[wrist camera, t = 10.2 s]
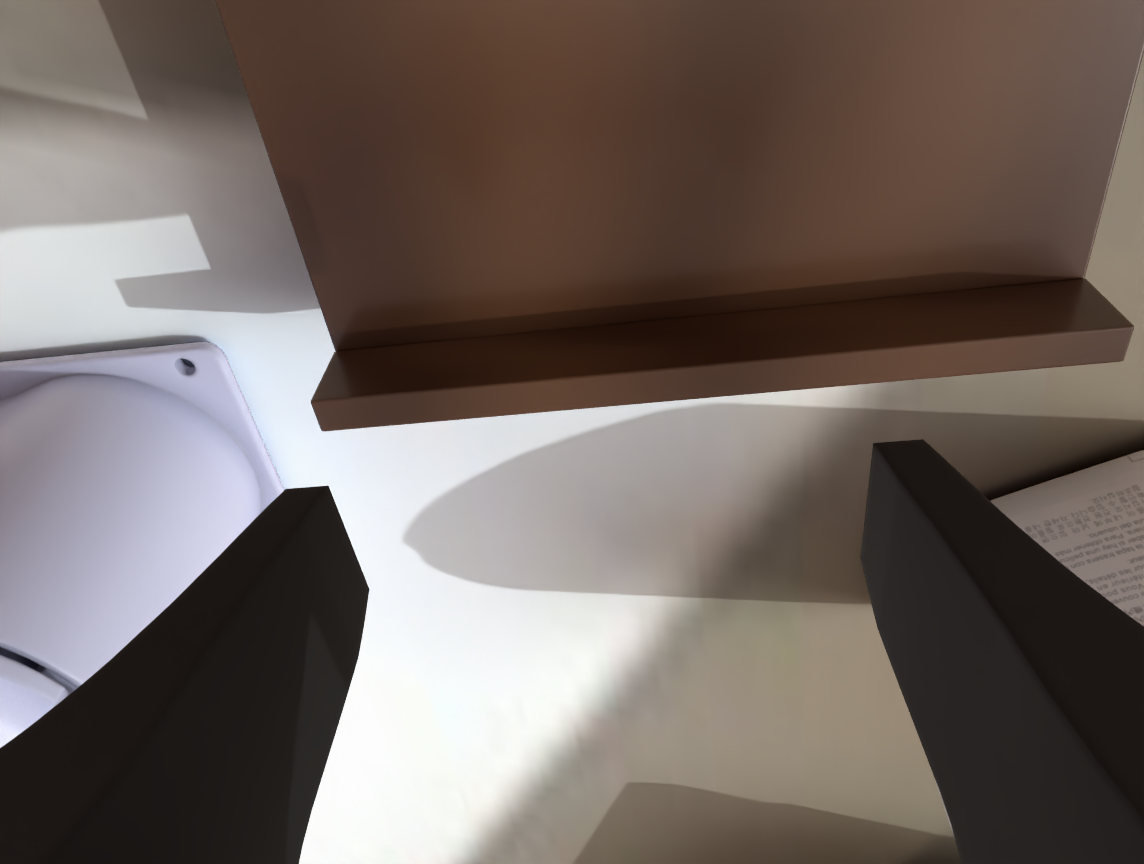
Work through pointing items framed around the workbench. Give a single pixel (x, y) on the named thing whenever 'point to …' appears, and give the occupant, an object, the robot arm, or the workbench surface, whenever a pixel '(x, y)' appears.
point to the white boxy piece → (1091, 527)
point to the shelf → (688, 192)
